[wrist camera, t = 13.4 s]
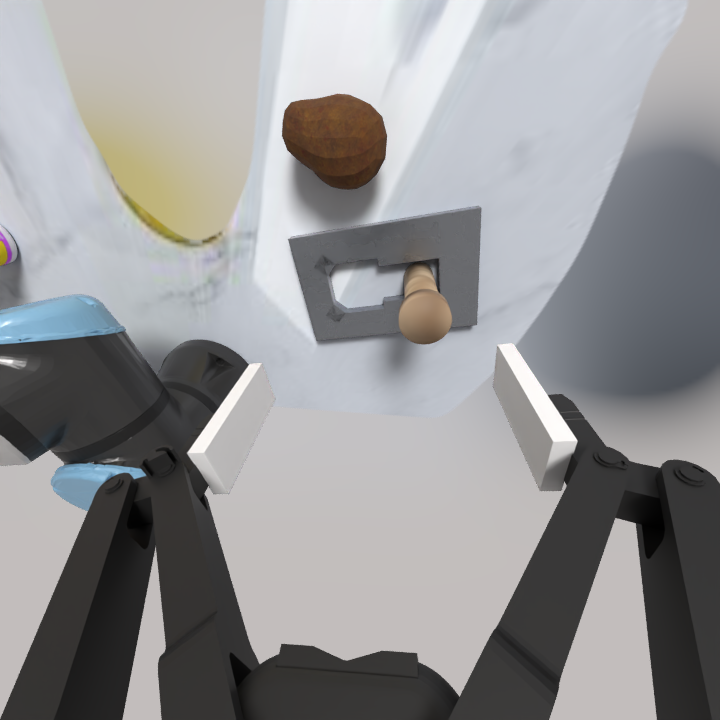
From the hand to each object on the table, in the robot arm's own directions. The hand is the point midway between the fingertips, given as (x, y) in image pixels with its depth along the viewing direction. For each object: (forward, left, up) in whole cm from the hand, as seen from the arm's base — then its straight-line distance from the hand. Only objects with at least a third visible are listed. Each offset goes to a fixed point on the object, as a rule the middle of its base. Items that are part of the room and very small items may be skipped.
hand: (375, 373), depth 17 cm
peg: (+3, -3, -25) cm, 25 cm away
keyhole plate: (-1, -3, -25) cm, 25 cm away
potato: (-4, +12, -25) cm, 28 cm away
